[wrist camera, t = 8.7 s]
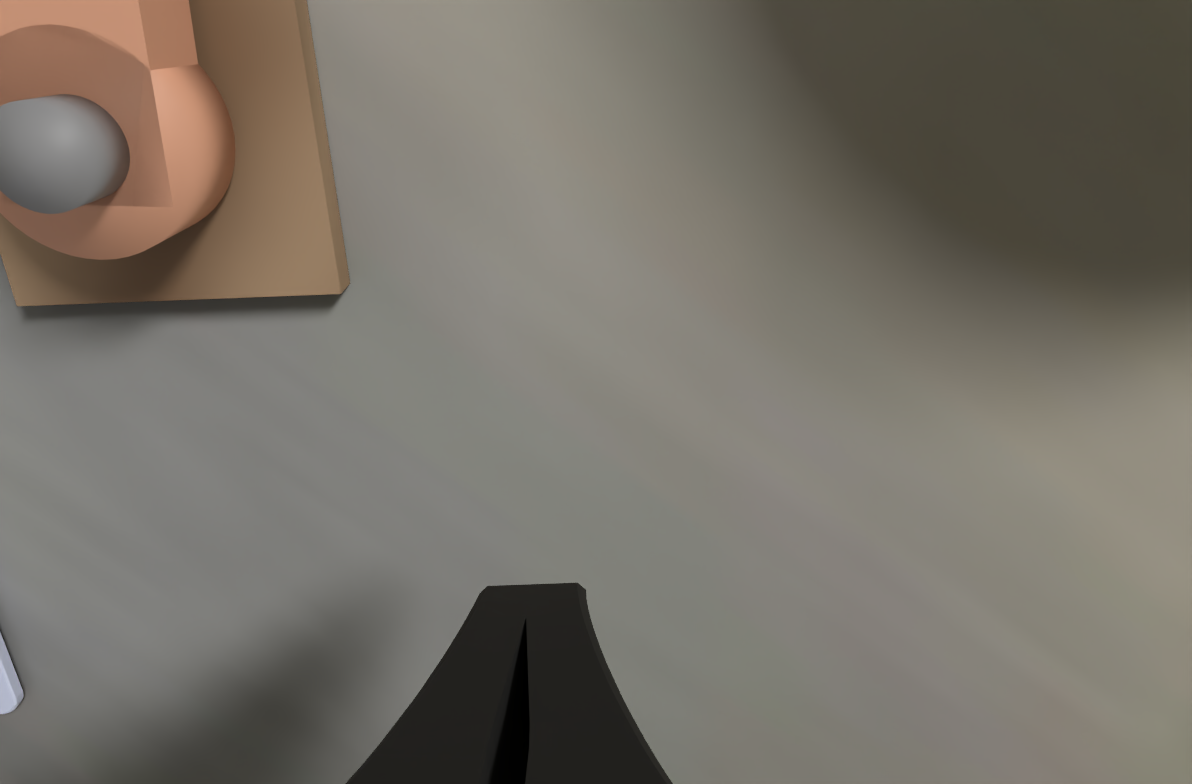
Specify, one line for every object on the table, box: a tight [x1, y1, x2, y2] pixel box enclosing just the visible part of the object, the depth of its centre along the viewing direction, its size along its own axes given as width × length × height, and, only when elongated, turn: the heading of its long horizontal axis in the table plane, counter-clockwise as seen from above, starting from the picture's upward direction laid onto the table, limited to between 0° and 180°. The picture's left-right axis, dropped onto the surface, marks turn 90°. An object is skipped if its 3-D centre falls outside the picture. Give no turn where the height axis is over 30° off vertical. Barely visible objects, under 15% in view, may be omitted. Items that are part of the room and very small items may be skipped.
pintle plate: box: [0, 0, 350, 306], centre depth 18 cm, size 7×7×1 cm
